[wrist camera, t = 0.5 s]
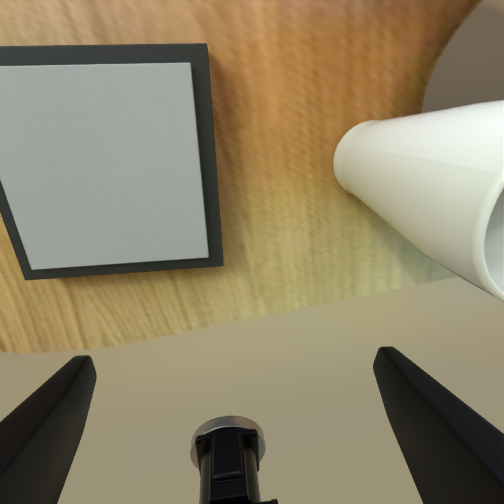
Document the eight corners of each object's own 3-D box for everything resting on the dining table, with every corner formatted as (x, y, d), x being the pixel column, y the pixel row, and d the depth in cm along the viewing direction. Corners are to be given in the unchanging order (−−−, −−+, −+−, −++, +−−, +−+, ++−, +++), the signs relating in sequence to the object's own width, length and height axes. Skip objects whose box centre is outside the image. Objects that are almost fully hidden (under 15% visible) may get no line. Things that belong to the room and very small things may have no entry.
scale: (223, 255, 25) (223, 269, 23) (39, 268, 24) (20, 284, 21) (207, 50, 19) (206, 41, 17) (-33, 53, 18) (-69, 44, 16)
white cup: (309, 131, 22) (464, 151, 8) (401, 92, 22) (725, 46, 8) (334, 216, 25) (481, 339, 11) (415, 183, 24) (675, 267, 10)
